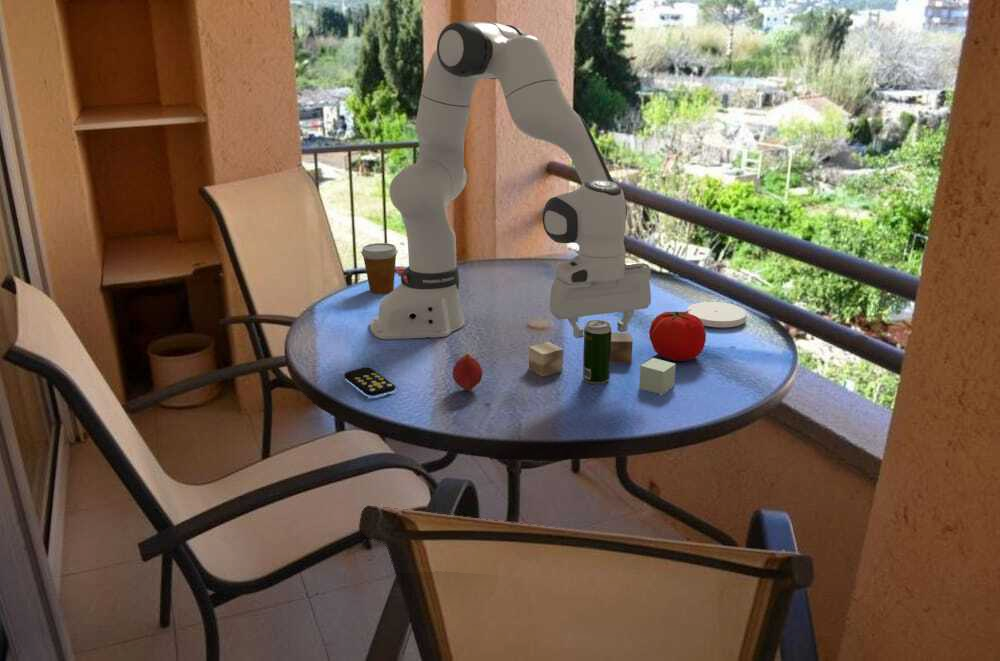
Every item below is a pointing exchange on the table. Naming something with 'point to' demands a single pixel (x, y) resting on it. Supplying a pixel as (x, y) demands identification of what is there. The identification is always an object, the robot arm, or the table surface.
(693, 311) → the plastic lid
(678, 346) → the tomato
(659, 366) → the sage painted block
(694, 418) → the table surface
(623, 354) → the walnut block
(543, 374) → the beech block
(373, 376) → the remote control
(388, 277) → the disposable coffee cup
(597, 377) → the beer can
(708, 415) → the table surface
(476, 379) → the onion
